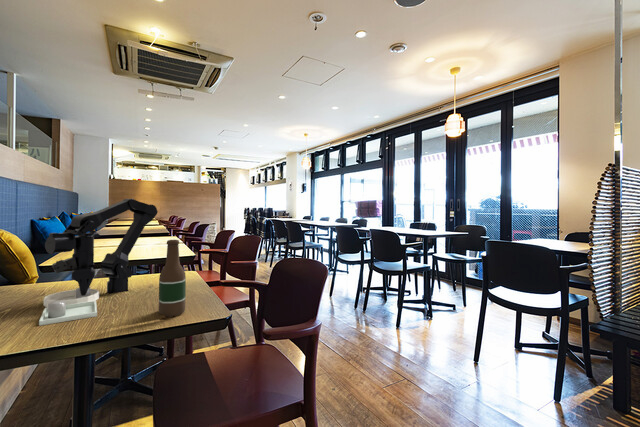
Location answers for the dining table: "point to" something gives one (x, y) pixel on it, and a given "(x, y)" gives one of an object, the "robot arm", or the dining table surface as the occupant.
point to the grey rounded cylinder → (78, 293)
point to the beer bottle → (172, 283)
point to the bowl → (71, 297)
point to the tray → (71, 313)
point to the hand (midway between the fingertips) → (83, 293)
